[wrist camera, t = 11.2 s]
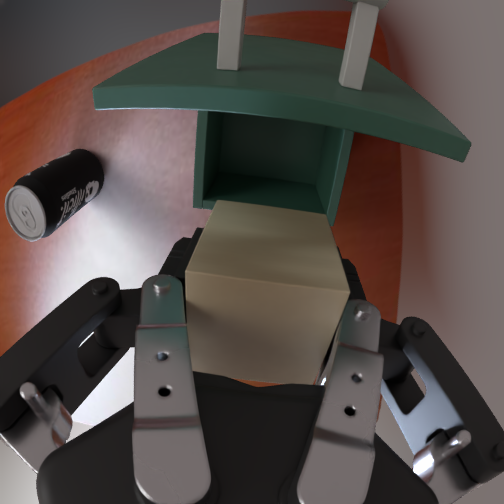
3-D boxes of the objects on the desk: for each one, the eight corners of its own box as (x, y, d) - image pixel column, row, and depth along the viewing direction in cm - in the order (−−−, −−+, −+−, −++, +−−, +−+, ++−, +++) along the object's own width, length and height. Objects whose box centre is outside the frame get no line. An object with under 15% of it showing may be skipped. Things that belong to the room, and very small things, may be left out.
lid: (463, 163, 8) (513, 11, 4) (93, 111, 8) (88, -56, 4) (367, 65, 18) (380, -3, 14) (203, 42, 18) (207, -27, 14)
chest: (320, 190, 32) (333, 226, 25) (212, 176, 32) (192, 207, 25) (341, 66, 25) (366, 61, 18) (224, 50, 25) (204, 38, 18)
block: (326, 214, 12) (351, 292, 8) (304, 298, 14) (312, 386, 10) (217, 199, 12) (184, 270, 8) (212, 286, 14) (188, 371, 10)
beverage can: (95, 139, 31) (28, 171, 20) (114, 188, 34) (58, 236, 24) (58, 158, 32) (-6, 195, 22) (77, 203, 35) (21, 251, 25)
